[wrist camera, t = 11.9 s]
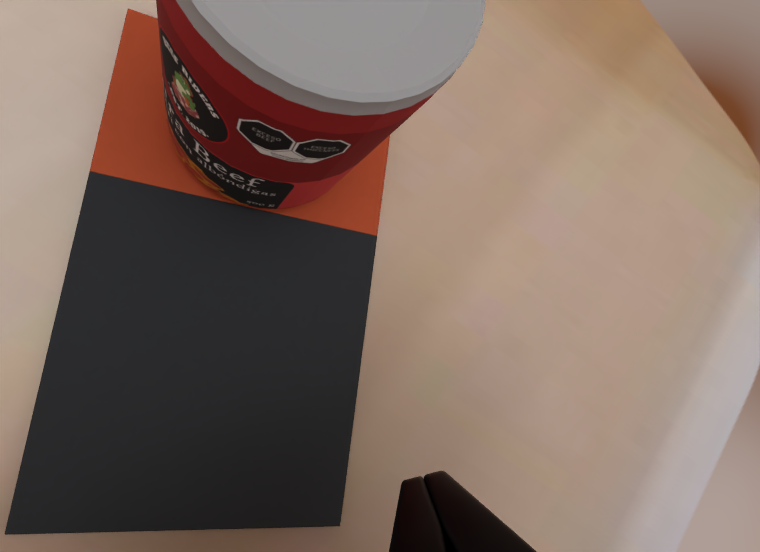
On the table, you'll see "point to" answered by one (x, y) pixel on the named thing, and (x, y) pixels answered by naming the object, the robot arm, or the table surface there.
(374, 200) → the pad
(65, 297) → the mat
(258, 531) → the table surface
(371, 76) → the canned food
